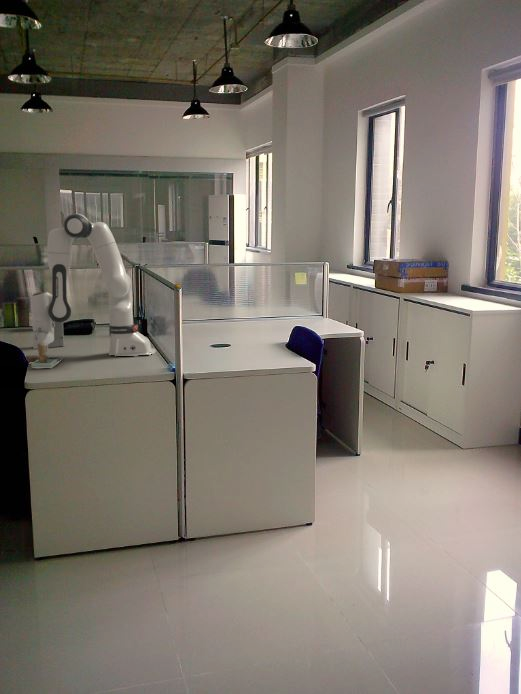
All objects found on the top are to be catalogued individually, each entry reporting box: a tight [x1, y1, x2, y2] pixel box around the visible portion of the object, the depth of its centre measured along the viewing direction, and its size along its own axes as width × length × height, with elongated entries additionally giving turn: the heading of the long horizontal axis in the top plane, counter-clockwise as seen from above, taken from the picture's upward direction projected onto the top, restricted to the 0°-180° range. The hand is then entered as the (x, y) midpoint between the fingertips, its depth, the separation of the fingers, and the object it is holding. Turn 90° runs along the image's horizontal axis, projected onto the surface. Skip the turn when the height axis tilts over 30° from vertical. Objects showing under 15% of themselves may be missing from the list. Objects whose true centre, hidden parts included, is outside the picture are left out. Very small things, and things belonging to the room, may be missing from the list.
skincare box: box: [48, 320, 65, 348], centre depth 348 cm, size 8×7×16 cm
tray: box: [30, 359, 57, 367], centre depth 302 cm, size 9×8×2 cm
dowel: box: [37, 343, 47, 363], centre depth 301 cm, size 3×3×10 cm
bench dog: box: [27, 355, 40, 364], centre depth 309 cm, size 6×3×3 cm, turn 89°
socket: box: [47, 356, 62, 362], centre depth 310 cm, size 6×6×2 cm
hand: (44, 354), depth 321 cm, fingers closed
